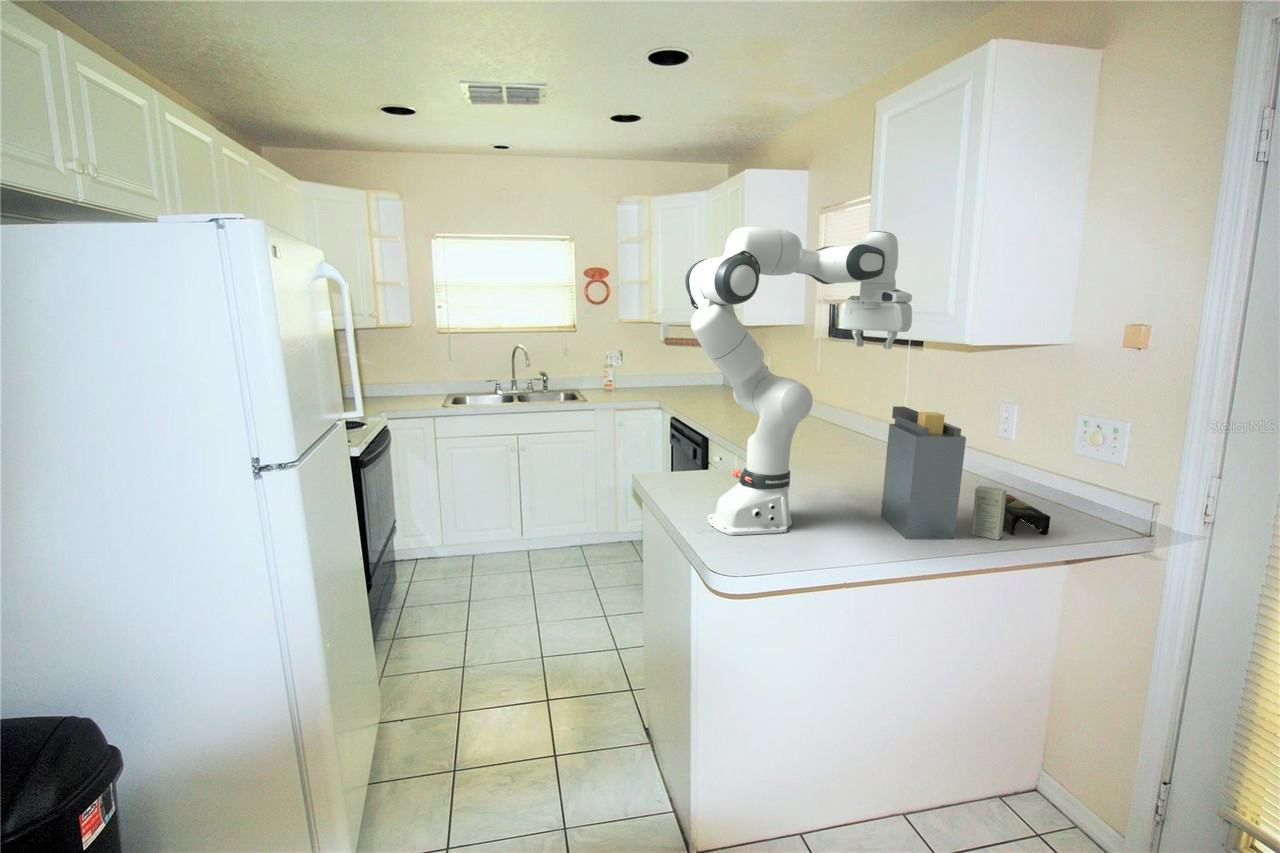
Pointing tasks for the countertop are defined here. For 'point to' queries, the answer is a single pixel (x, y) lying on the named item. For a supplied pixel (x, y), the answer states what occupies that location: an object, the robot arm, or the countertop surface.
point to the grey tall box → (922, 480)
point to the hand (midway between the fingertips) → (872, 347)
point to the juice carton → (1023, 516)
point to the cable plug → (922, 418)
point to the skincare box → (988, 512)
